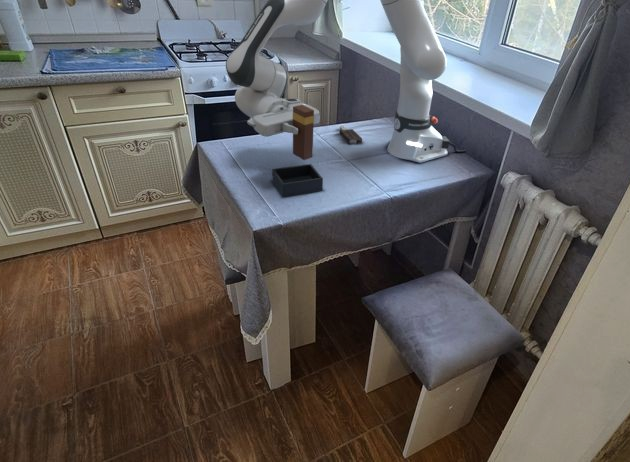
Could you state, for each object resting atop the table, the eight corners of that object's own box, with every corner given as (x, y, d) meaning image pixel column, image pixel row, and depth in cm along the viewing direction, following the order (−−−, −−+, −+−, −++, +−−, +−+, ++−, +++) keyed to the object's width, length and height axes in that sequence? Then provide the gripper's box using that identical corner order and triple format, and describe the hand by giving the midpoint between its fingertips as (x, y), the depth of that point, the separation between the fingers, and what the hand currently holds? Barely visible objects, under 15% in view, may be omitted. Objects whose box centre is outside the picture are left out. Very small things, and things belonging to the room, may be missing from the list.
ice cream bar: (334, 129, 167) (350, 145, 157) (335, 125, 166) (350, 140, 156) (347, 128, 170) (363, 143, 159) (347, 124, 169) (363, 139, 158)
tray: (310, 175, 135) (310, 163, 132) (322, 190, 128) (322, 178, 126) (272, 181, 130) (272, 168, 127) (282, 197, 123) (282, 184, 120)
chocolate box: (301, 151, 127) (302, 104, 119) (312, 157, 124) (314, 110, 116) (292, 153, 124) (292, 106, 116) (303, 160, 122) (304, 112, 114)
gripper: (243, 109, 118) (274, 126, 111) (301, 97, 131) (332, 112, 124) (244, 131, 121) (274, 149, 114) (301, 117, 134) (331, 132, 127)
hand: (305, 129), depth 119 cm, fingers closed on chocolate box, 3 cm apart
